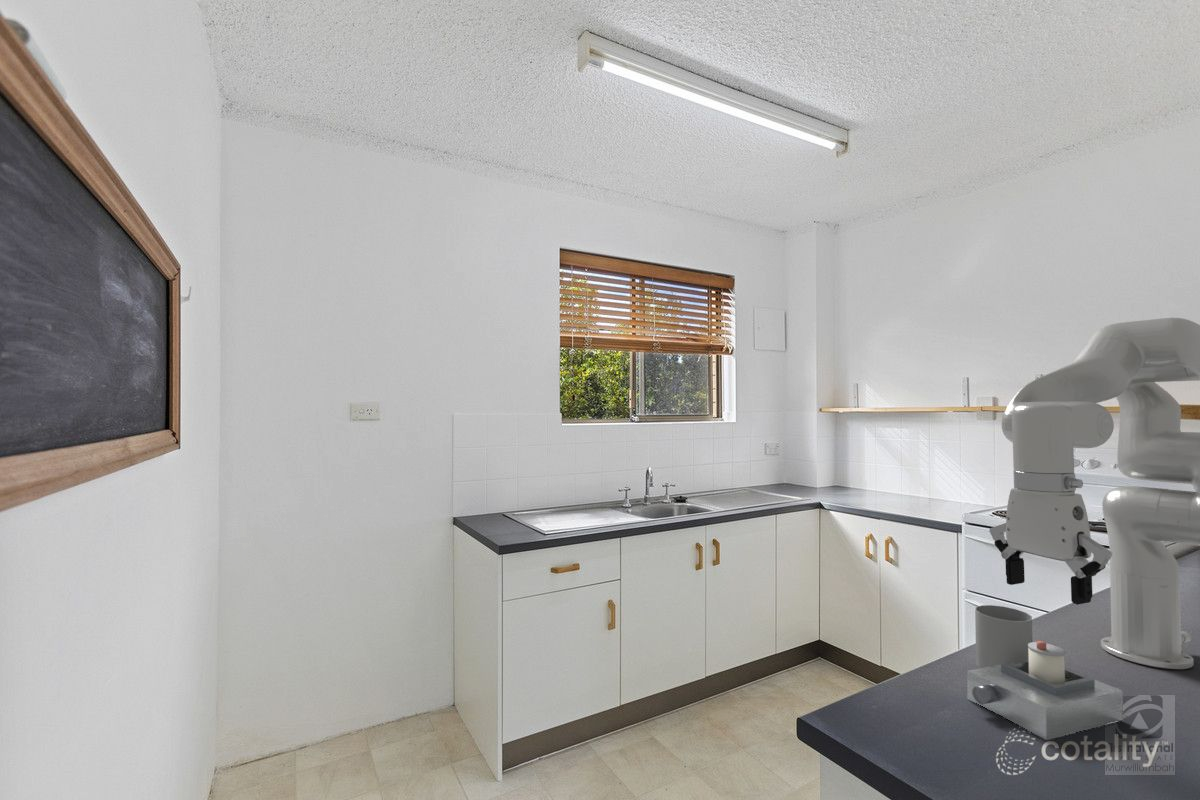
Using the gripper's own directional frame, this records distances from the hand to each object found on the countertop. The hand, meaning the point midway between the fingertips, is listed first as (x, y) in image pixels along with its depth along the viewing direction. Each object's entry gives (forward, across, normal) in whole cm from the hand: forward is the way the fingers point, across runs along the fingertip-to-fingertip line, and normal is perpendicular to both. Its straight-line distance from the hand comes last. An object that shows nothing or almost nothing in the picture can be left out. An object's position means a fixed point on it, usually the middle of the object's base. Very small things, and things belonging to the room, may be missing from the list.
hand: (1046, 592), depth 89 cm
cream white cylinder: (+16, 0, +1) cm, 16 cm away
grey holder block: (+18, 0, +3) cm, 18 cm away
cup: (+18, +12, -6) cm, 22 cm away
